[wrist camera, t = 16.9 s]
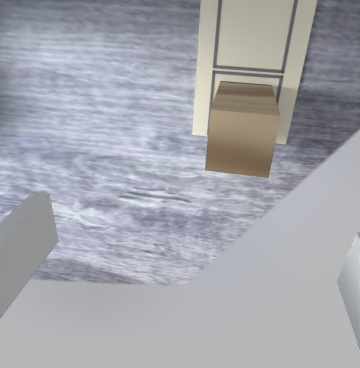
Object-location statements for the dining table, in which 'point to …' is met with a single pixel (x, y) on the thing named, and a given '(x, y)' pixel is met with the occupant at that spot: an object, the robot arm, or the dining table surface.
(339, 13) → the dining table surface
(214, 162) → the tall wooden block
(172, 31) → the dining table surface
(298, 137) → the dining table surface
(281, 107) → the tag card
